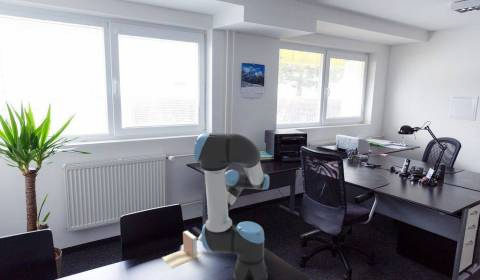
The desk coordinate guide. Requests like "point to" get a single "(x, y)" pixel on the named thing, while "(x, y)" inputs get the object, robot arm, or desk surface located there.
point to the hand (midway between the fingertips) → (199, 240)
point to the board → (178, 258)
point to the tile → (190, 244)
